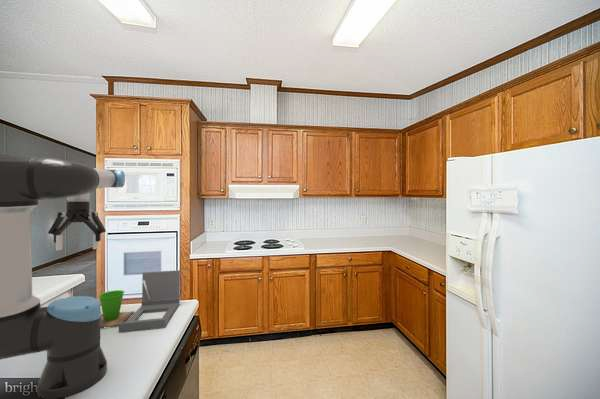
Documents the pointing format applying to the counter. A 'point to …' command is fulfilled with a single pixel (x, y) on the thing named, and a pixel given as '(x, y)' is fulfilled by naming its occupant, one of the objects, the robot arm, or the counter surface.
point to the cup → (111, 304)
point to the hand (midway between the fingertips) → (77, 249)
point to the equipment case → (155, 300)
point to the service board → (121, 319)
